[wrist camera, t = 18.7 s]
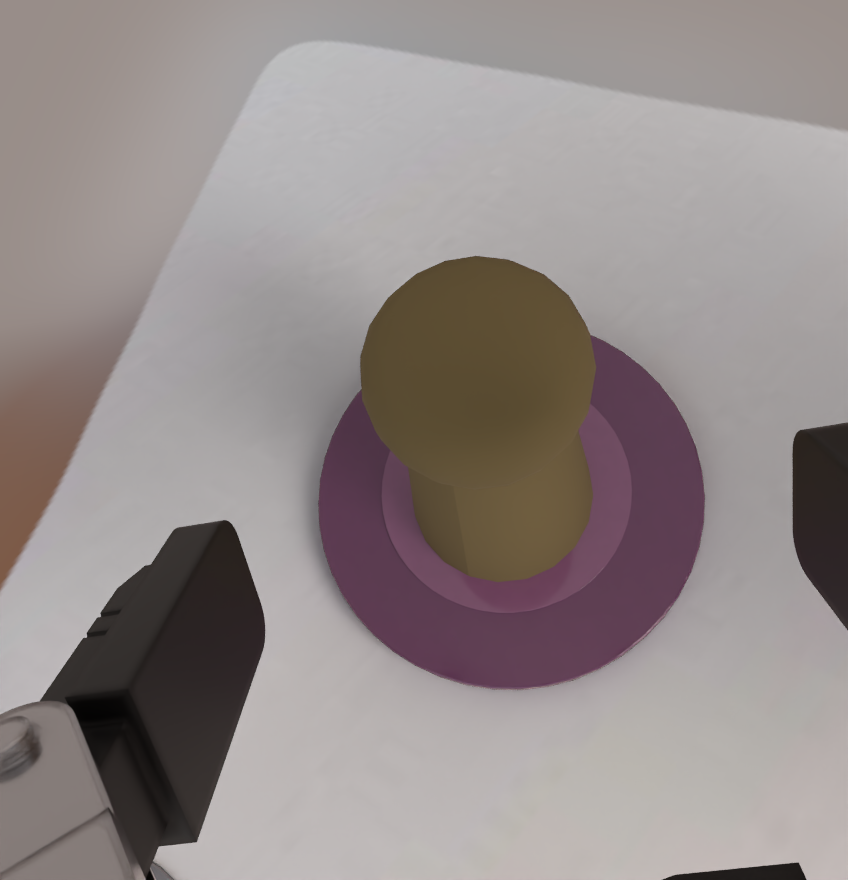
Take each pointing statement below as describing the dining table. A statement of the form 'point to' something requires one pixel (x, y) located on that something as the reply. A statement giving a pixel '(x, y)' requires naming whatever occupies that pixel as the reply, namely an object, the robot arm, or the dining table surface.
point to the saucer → (546, 594)
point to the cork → (486, 412)
